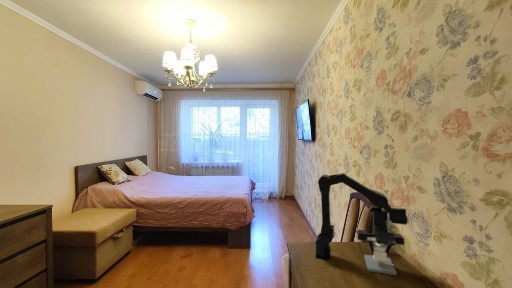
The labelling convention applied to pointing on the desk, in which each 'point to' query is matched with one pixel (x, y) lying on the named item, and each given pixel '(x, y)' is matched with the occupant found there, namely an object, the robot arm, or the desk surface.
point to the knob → (379, 252)
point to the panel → (379, 265)
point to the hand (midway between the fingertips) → (379, 255)
